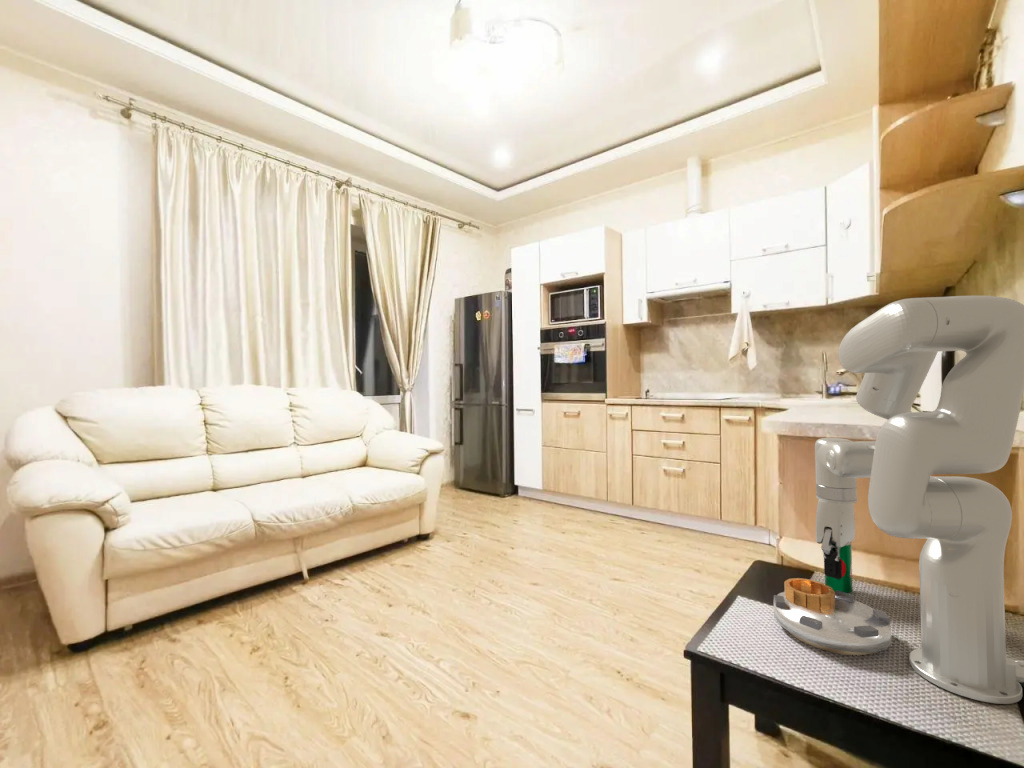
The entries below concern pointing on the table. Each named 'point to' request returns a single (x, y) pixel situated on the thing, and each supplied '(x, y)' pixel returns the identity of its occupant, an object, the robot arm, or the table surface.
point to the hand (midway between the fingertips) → (838, 572)
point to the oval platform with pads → (831, 617)
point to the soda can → (843, 571)
